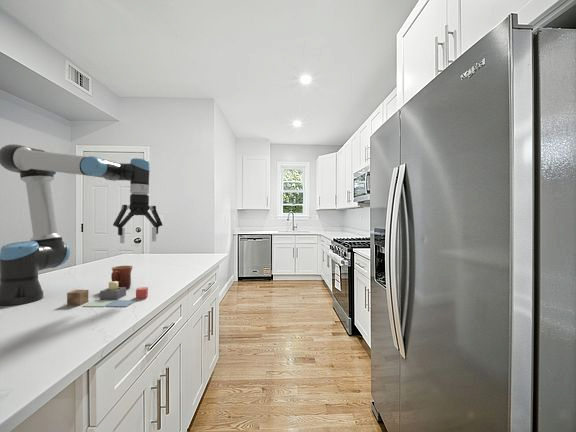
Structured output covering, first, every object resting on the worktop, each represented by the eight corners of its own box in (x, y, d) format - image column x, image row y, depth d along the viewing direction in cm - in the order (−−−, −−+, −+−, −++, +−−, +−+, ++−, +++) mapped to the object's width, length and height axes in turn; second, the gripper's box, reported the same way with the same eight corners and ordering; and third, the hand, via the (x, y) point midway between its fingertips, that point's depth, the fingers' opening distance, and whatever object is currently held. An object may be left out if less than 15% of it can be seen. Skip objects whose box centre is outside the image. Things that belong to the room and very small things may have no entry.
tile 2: (105, 306, 116) (105, 306, 116) (116, 300, 124) (116, 300, 124) (126, 307, 116) (126, 306, 116) (136, 300, 124) (136, 300, 124)
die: (135, 299, 127) (135, 288, 127) (137, 296, 131) (137, 286, 130) (146, 298, 128) (146, 288, 128) (147, 296, 132) (147, 286, 132)
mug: (118, 286, 148) (118, 265, 148) (136, 286, 148) (136, 265, 148) (102, 292, 136) (103, 270, 136) (122, 293, 136) (122, 270, 136)
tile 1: (82, 306, 116) (82, 305, 116) (95, 300, 124) (95, 299, 124) (103, 306, 116) (103, 306, 116) (115, 300, 124) (115, 300, 124)
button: (106, 292, 127) (106, 283, 127) (111, 290, 131) (111, 281, 131) (115, 292, 127) (115, 283, 127) (120, 290, 131) (120, 281, 131)
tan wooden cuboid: (66, 305, 117) (67, 292, 117) (75, 302, 122) (75, 289, 122) (80, 305, 117) (80, 292, 117) (88, 302, 122) (88, 289, 122)
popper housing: (100, 299, 125) (100, 291, 125) (109, 295, 132) (109, 287, 132) (117, 299, 125) (117, 291, 125) (125, 295, 132) (126, 287, 132)
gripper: (111, 192, 122) (110, 244, 122) (170, 195, 141) (169, 241, 141) (105, 192, 127) (104, 243, 127) (163, 196, 146) (162, 240, 146)
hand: (138, 242), depth 134 cm, fingers open, 13 cm apart
